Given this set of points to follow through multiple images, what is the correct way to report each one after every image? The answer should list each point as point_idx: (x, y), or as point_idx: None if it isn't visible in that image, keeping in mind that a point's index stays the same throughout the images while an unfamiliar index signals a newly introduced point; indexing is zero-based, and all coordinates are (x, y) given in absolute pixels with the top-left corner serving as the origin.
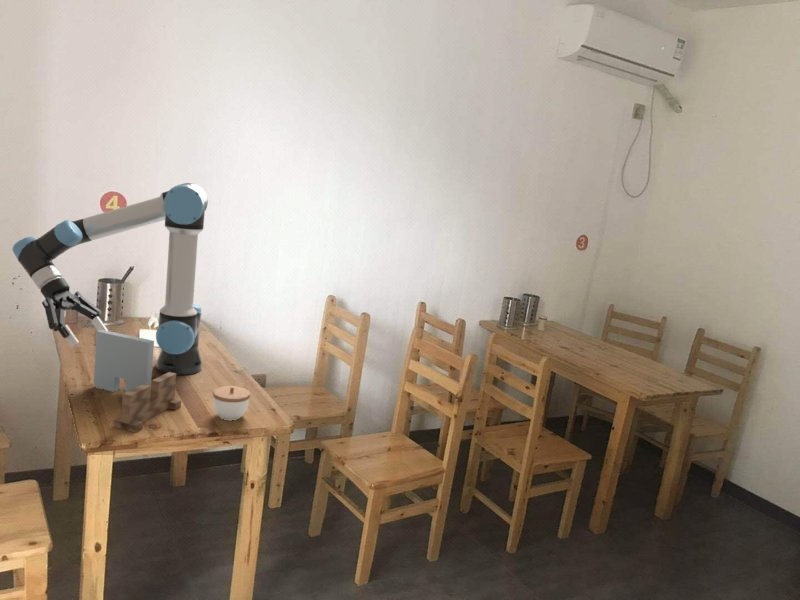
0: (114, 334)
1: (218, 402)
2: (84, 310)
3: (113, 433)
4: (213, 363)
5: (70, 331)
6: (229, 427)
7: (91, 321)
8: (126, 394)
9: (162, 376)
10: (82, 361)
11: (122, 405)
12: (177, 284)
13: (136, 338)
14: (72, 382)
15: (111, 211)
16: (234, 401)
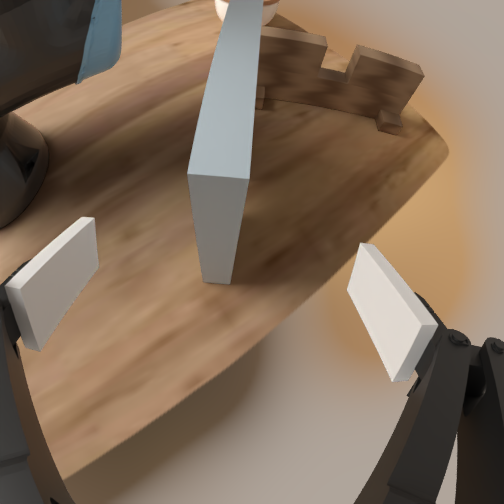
0: (243, 84)
1: (277, 5)
2: (21, 398)
3: (411, 127)
4: None
5: (402, 287)
6: (282, 21)
7: (41, 343)
8: (420, 70)
9: (288, 36)
10: (45, 437)
11: (413, 91)
12: None
13: (242, 21)
14: (224, 365)
15: None
16: None
